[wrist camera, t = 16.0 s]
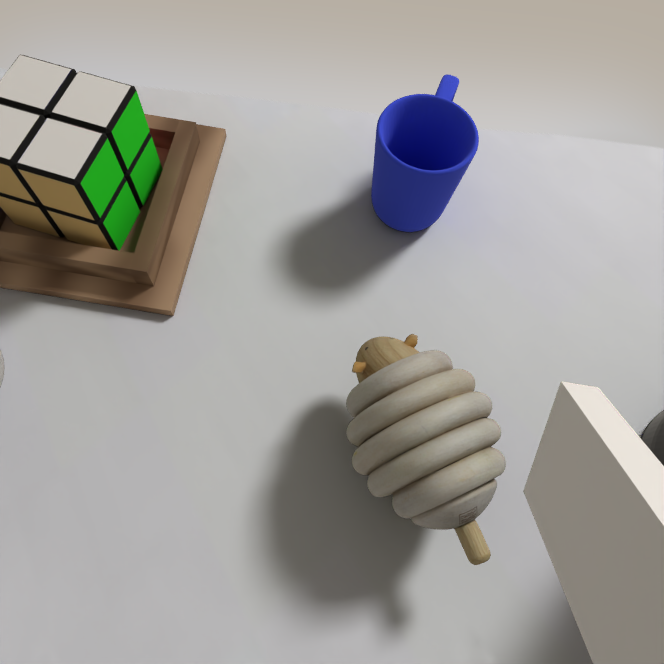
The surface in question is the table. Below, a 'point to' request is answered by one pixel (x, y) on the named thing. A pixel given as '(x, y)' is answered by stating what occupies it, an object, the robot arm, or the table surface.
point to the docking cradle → (142, 241)
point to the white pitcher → (1, 368)
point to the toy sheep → (425, 438)
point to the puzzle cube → (73, 153)
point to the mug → (421, 157)
